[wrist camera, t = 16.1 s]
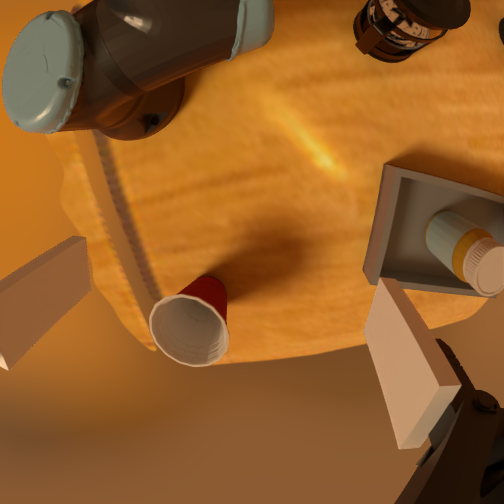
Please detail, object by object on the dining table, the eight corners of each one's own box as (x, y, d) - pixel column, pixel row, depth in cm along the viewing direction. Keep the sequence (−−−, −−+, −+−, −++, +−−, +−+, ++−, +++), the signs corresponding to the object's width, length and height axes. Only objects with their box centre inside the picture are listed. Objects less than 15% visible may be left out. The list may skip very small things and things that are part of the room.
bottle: (465, 240, 41) (519, 280, 27) (431, 261, 43) (477, 310, 29) (452, 201, 40) (510, 231, 26) (416, 223, 41) (465, 262, 27)
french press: (385, -6, 31) (449, -84, 9) (429, 42, 33) (521, -6, 11) (330, 31, 34) (369, -54, 13) (377, 81, 36) (459, 38, 15)
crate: (383, 163, 40) (395, 167, 35) (506, 197, 39) (524, 204, 34) (362, 269, 46) (370, 284, 41) (482, 285, 44) (495, 298, 40)
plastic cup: (201, 245, 47) (176, 279, 36) (256, 290, 49) (247, 336, 38) (162, 291, 50) (133, 331, 39) (213, 331, 52) (196, 379, 41)
